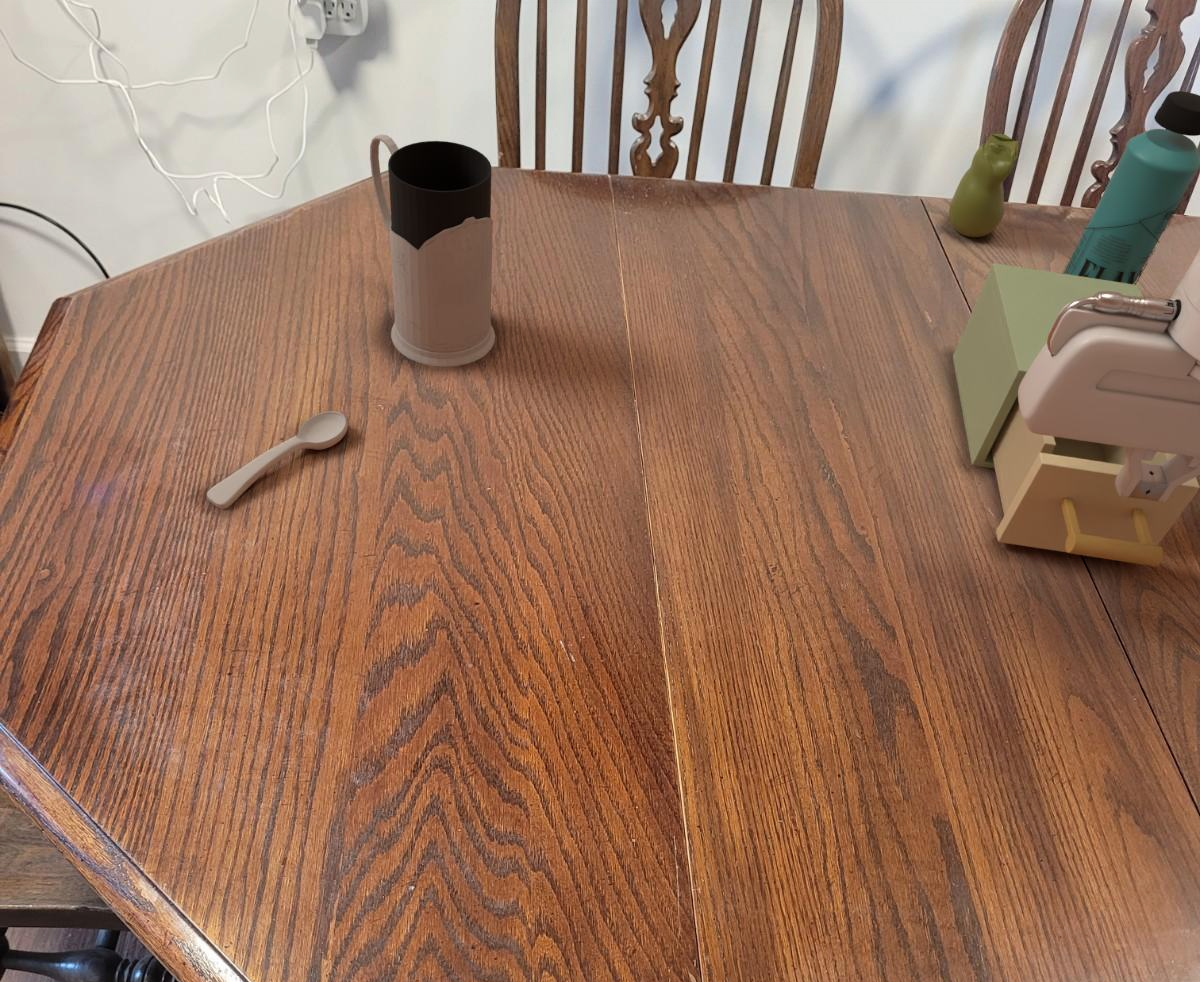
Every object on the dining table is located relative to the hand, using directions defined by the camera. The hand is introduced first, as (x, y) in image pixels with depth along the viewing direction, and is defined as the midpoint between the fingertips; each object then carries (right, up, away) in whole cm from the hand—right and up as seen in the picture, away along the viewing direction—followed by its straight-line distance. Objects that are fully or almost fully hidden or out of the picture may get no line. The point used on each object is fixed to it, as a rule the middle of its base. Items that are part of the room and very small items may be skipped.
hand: (1138, 493), depth 69 cm
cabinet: (+1, +8, +20) cm, 21 cm away
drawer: (0, 0, +11) cm, 11 cm away
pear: (+2, +31, +39) cm, 50 cm away
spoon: (-59, +3, +7) cm, 59 cm away
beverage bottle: (+11, +21, +32) cm, 40 cm away
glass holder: (-50, +17, +20) cm, 57 cm away
